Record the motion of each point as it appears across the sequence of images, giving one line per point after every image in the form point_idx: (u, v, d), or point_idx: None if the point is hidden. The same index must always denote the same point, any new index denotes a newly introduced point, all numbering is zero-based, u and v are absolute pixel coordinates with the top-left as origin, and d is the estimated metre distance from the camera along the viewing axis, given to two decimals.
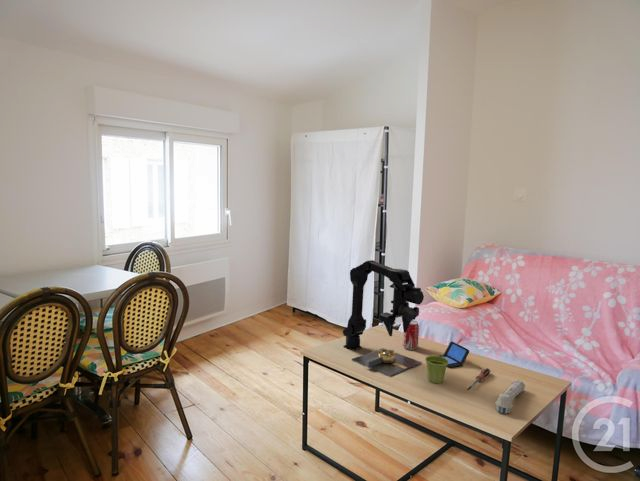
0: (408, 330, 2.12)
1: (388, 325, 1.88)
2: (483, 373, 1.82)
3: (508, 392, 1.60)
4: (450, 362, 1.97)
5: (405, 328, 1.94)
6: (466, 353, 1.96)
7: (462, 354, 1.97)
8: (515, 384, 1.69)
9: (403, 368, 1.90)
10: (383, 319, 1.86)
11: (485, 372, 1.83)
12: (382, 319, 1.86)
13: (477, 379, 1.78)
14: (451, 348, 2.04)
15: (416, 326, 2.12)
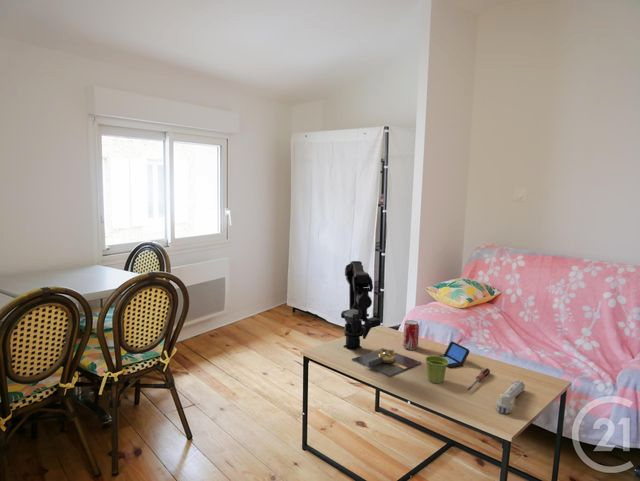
0: (408, 330, 2.12)
1: None
2: (483, 373, 1.82)
3: (508, 392, 1.60)
4: (450, 362, 1.97)
5: None
6: (466, 353, 1.96)
7: (462, 354, 1.98)
8: (515, 384, 1.69)
9: (403, 368, 1.90)
10: None
11: (485, 372, 1.83)
12: None
13: (477, 379, 1.78)
14: (451, 348, 2.04)
15: (416, 326, 2.12)
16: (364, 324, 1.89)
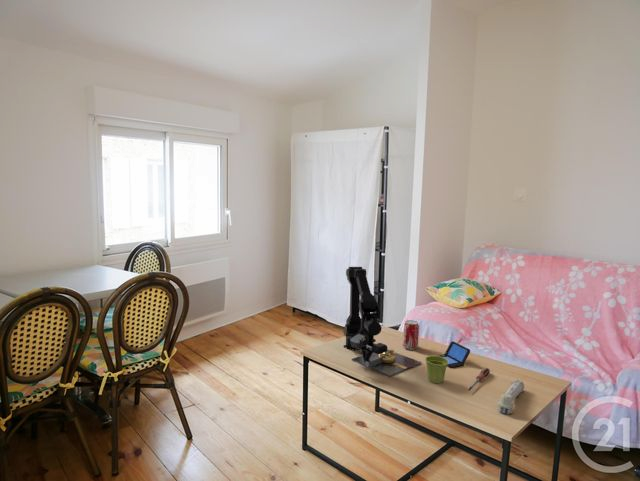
0: (408, 330, 2.12)
1: None
2: (483, 373, 1.82)
3: (509, 392, 1.60)
4: (451, 362, 1.97)
5: None
6: (467, 353, 1.96)
7: (462, 354, 1.98)
8: (515, 384, 1.69)
9: (403, 368, 1.90)
10: None
11: (485, 372, 1.83)
12: None
13: (477, 379, 1.78)
14: (452, 348, 2.04)
15: (416, 326, 2.12)
16: (366, 348, 1.89)
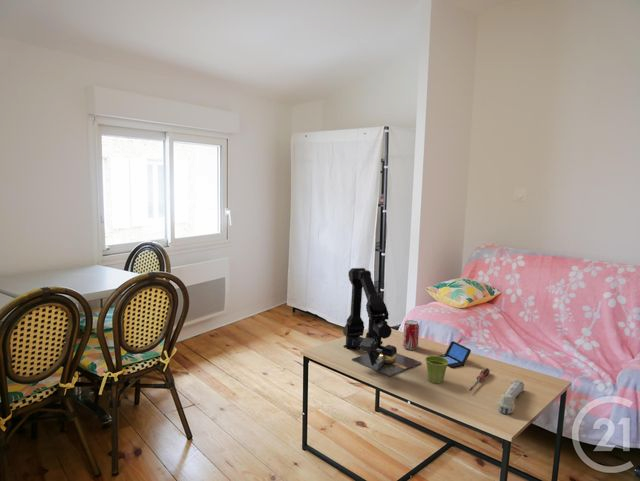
0: (408, 330, 2.12)
1: None
2: (483, 373, 1.82)
3: (509, 392, 1.60)
4: (452, 362, 1.97)
5: None
6: (468, 353, 1.96)
7: (463, 353, 1.98)
8: (515, 384, 1.69)
9: (403, 368, 1.90)
10: None
11: (485, 372, 1.83)
12: None
13: (478, 379, 1.78)
14: (452, 348, 2.04)
15: (416, 326, 2.12)
16: (374, 351, 1.86)
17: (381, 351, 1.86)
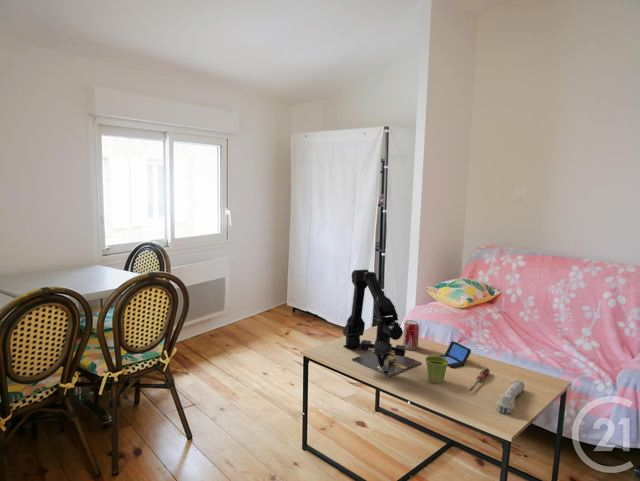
0: (408, 330, 2.12)
1: None
2: (483, 373, 1.82)
3: (509, 392, 1.60)
4: (452, 362, 1.97)
5: None
6: (468, 353, 1.96)
7: (463, 353, 1.98)
8: (515, 384, 1.69)
9: (403, 368, 1.90)
10: None
11: (485, 372, 1.83)
12: None
13: (478, 379, 1.78)
14: (452, 348, 2.04)
15: (416, 326, 2.12)
16: None
17: (390, 352, 1.85)
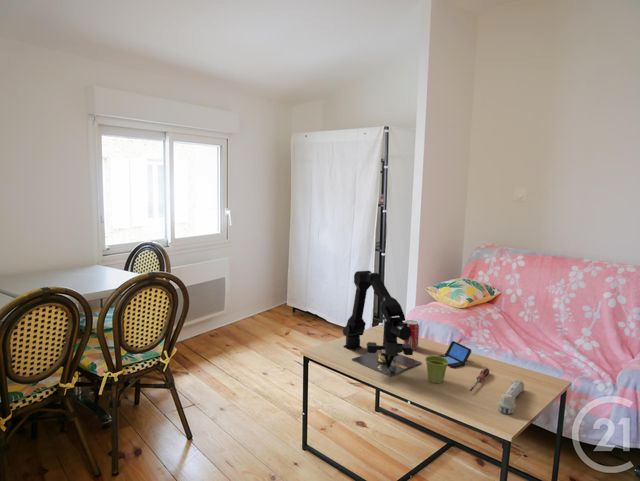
0: None
1: None
2: (483, 373, 1.82)
3: (510, 392, 1.60)
4: (452, 362, 1.97)
5: None
6: (468, 353, 1.96)
7: (464, 353, 1.98)
8: (515, 384, 1.69)
9: (403, 368, 1.90)
10: None
11: (485, 372, 1.83)
12: None
13: (478, 379, 1.77)
14: (452, 348, 2.04)
15: (416, 326, 2.12)
16: None
17: None
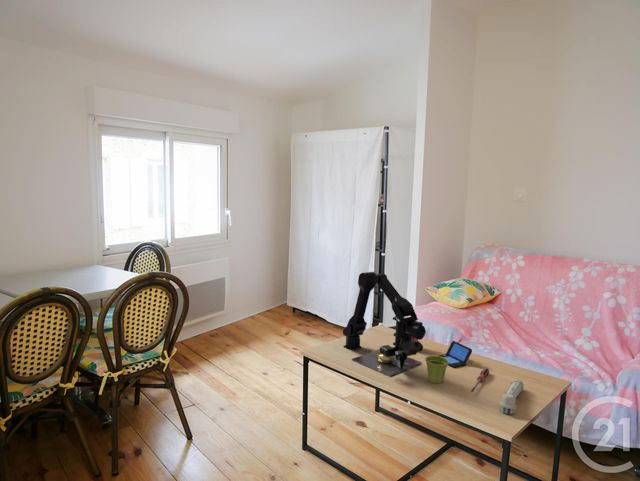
0: None
1: (397, 357, 1.86)
2: (483, 373, 1.82)
3: (511, 392, 1.60)
4: (453, 362, 1.97)
5: None
6: (469, 353, 1.97)
7: (464, 353, 1.98)
8: (515, 383, 1.69)
9: None
10: (382, 352, 1.82)
11: (485, 372, 1.83)
12: (382, 352, 1.83)
13: (479, 380, 1.77)
14: (453, 347, 2.05)
15: None
16: (406, 352, 1.85)
17: None
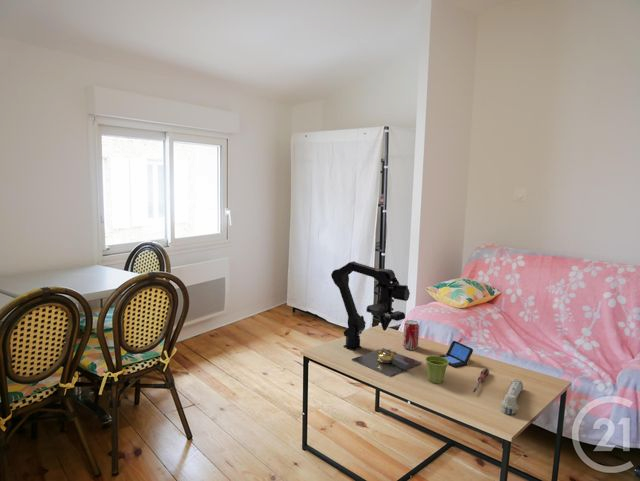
0: (408, 330, 2.12)
1: None
2: (484, 374, 1.82)
3: (512, 392, 1.60)
4: (454, 361, 1.98)
5: None
6: (470, 352, 1.97)
7: (465, 353, 1.99)
8: (515, 383, 1.70)
9: None
10: None
11: (485, 372, 1.83)
12: None
13: (480, 380, 1.77)
14: (454, 347, 2.05)
15: (416, 326, 2.12)
16: (385, 316, 2.01)
17: None
